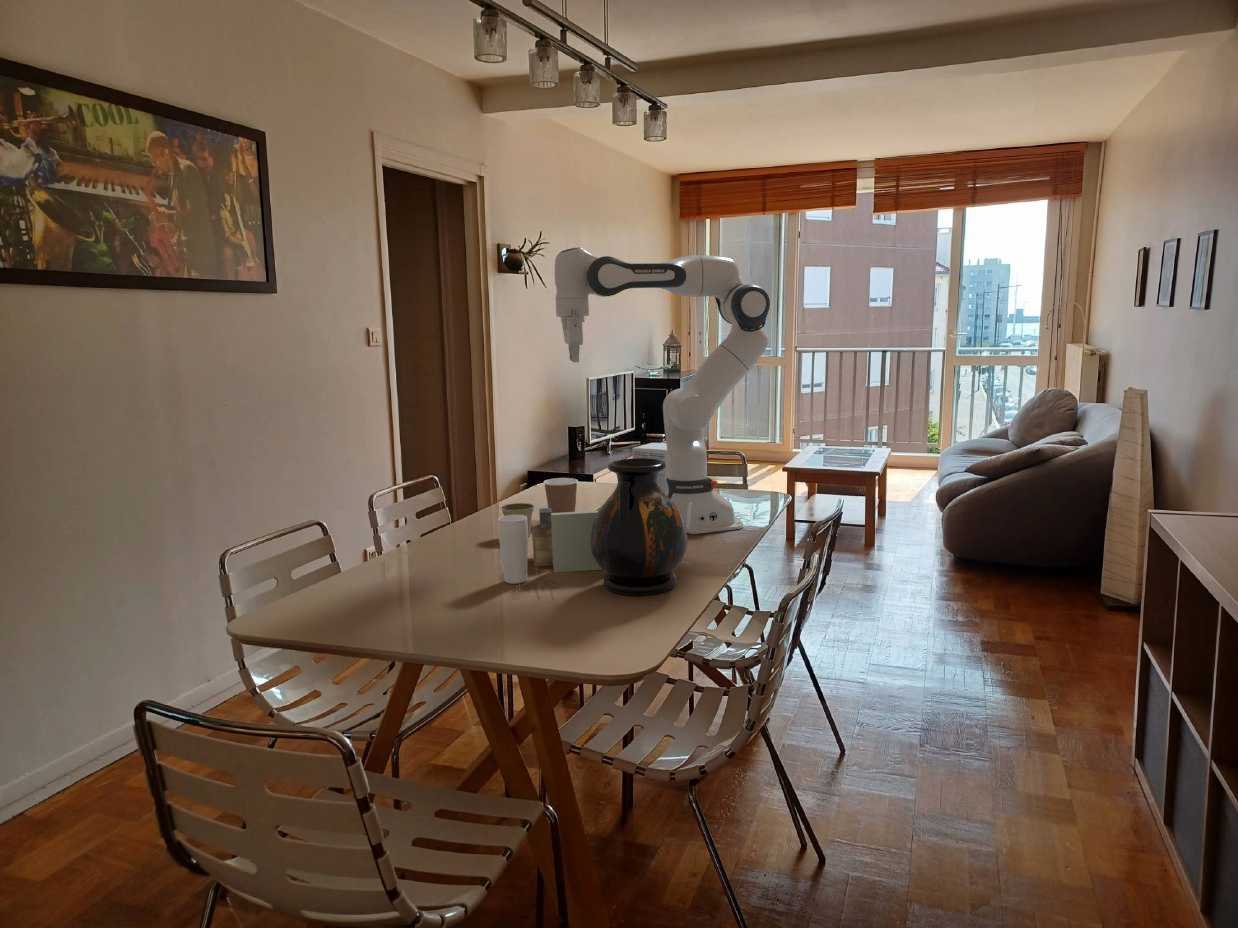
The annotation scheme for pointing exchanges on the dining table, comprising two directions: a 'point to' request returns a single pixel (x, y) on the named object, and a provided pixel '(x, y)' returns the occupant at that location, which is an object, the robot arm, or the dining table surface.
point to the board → (573, 541)
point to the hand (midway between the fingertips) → (574, 361)
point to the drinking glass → (514, 547)
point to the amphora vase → (638, 531)
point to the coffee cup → (561, 494)
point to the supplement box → (654, 452)
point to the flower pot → (519, 511)
